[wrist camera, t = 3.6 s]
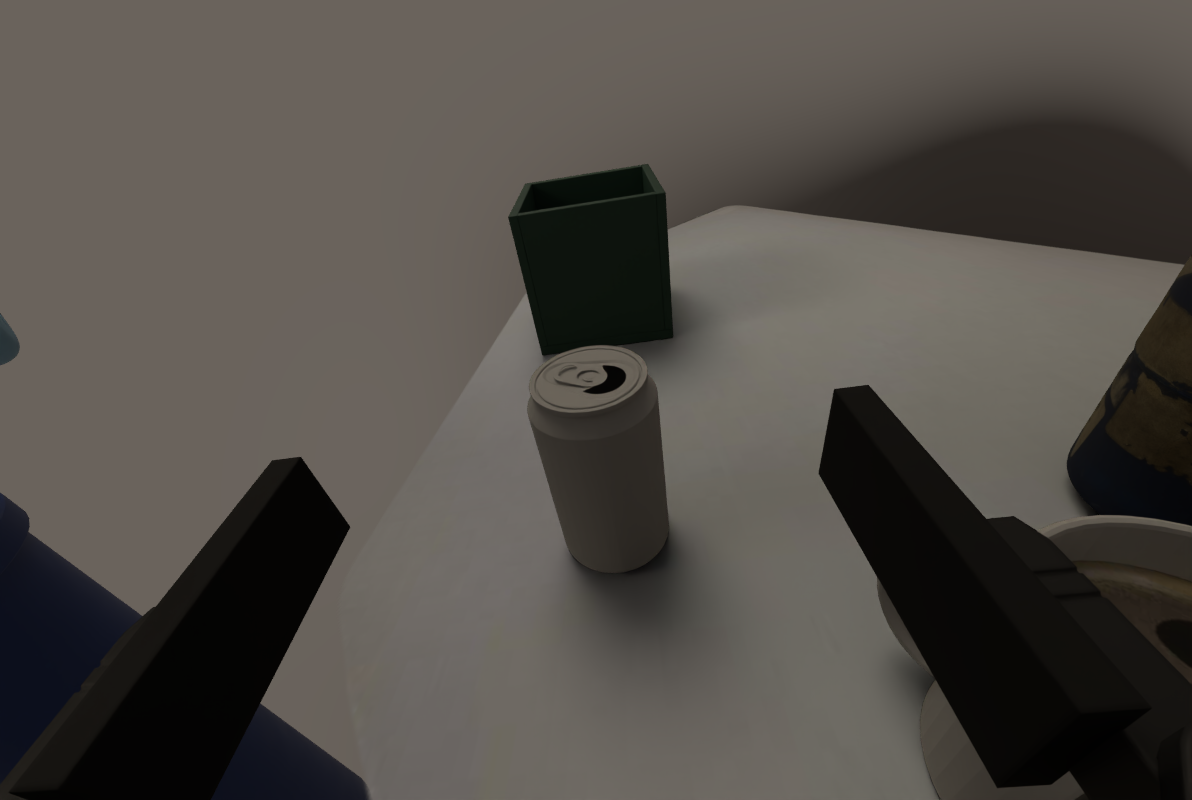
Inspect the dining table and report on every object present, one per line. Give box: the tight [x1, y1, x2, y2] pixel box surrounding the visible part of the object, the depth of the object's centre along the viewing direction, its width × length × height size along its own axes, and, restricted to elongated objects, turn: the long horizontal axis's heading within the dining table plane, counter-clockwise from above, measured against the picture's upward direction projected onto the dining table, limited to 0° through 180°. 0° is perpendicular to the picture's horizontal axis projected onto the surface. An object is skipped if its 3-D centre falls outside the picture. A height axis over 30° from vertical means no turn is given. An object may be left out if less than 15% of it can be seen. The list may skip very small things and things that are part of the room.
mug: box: [877, 515, 1192, 800], centre depth 15 cm, size 11×10×10 cm
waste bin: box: [508, 164, 673, 355], centre depth 49 cm, size 14×14×14 cm
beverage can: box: [527, 345, 669, 573], centre depth 25 cm, size 6×6×12 cm
